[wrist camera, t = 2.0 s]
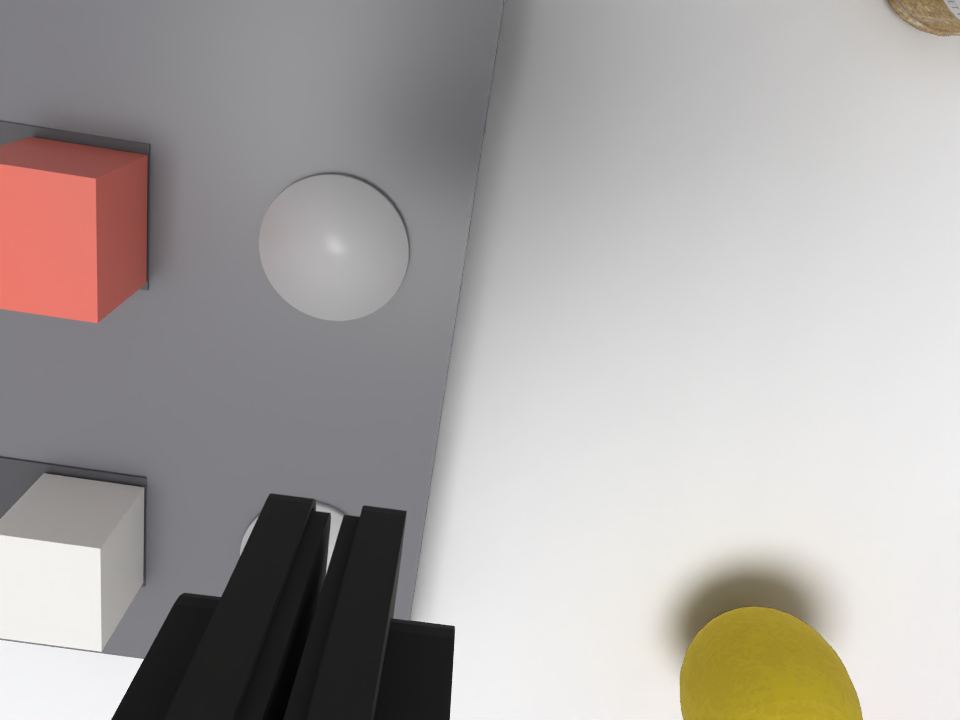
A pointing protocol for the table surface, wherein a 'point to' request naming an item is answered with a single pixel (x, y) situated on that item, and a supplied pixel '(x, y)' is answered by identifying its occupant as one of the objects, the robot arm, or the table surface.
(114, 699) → the table surface
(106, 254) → the red switch
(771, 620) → the lemon
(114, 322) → the switch panel
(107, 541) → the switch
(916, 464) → the table surface
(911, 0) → the sprinkles bottle
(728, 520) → the table surface
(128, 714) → the robot arm
